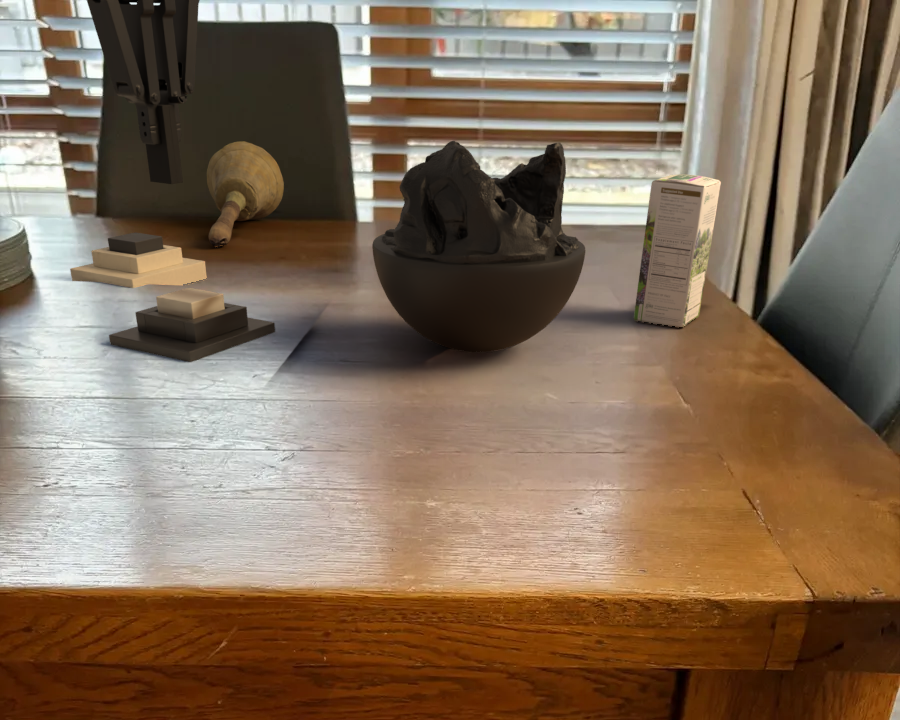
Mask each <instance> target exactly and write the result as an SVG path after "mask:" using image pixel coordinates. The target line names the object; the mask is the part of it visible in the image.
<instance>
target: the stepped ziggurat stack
mask: <svg viewBox="0 0 900 720" xmlns="http://www.w3.org/2000/svg"><path fill="white" fill-rule="evenodd" d="M163 248H164V249H161V250H157V251H153V252H148V253H144V254H139V255H132V254H126V253H120V252H114V251H110V250H109V246H107V247H102V248H101V247H100V248H96V249H92V250H90V251H91V257H92V261H93V262H92V263H88V264H84V265H79V266H75V267H71V268H69V270H70V277H71V281H72V282H82V283H83V282H85V283H104V284H108V285H109V284H110V285H113V286H114V285H115V286H120V287H125V288H130V289H135V288H139V287H143V286H146V285H158V286H159V285H160V286H161V285H163V286H183V284H187V283H191V282H196V281H199V280H203V279H206V278H207V279H208V277H207V268H206V261H205V260H201V259H194V258H187V257H183V250H182V247H179V246H173V245H168V244H167V245H166V244H163ZM207 279H206V280H207ZM203 281H204V280H203ZM199 282H200V281H199ZM196 283H197V282H196Z"/></svg>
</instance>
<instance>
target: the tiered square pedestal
mask: <svg viewBox="0 0 900 720" xmlns="http://www.w3.org/2000/svg"><path fill="white" fill-rule="evenodd" d="M224 306H225V309H224V310H220V311H217V312H214V313H211V314H208V315H204V316H201V317H198V318H195V319H190V318H185V317H180V316H175V315H170V314H165V313H160V312H158V307H157V305H155V306H152V307H149V308H144V309H141V310H138V311H135V320H136V326H134V327H131V328H130V327H129V328H127V329H123V330H120V331H117V332H114V333H111V334H108V339H109V345H110V346H114V347H119V348H123V349H126V350H127V349H128V350H133V351H136V352H141V353H146V354H151V355H155V356H160V357H164V358H168V359H173V360H178V361H182V362H187V363H193V362H196V361H199V360H201V359H204V358H207V357H210V356H213V355H215V354H219V353H220V352H223V351H226V350H229V349H232V348H235V347H237V346H241V345H243V344H245V343H248V342H251V341H254V340H257V339H260V338H262V337H265V336H268V335H271V334H274V333H275V332H276V325H275V322H274V321H269V320H263V319H257V318H253V317H248V309H247V308H248V307H247V306H244V305H239V304H238V305H237V304H233V303H227V302H224Z"/></svg>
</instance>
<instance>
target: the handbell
mask: <svg viewBox="0 0 900 720" xmlns="http://www.w3.org/2000/svg"><path fill="white" fill-rule="evenodd" d="M206 183H207V184H206V185H207V188H208V191H209V195H210V196H211V197H212V199H213V201H214V204H215V206H216V208H217V210H218V211H219V212H220V216H219V217H218V218H217V220H216V221H215V223H213V224H212V225H211V228H210V230H209V232H208V240H209V243H210V245H212V247H214V246H220V245H226V246H227V245H228V243H229V242H230V240H231V239H232V232H233V227H234V223H235V222H236V221H237V222H245V221H256V220H261V219H265V218H267V217H268V216H270V215H271V214H272V213H273V212H274V211H275V210H276V209H277V208H278V207H279V205H280V203H281V202H282V199H283V196H284V190H285V185H284V184H285V182H284V177H283V175H282V172H281V168H280V166H279V164H278V163H277V161H276V159H275V158H274V157H273V156H272V155H271V154H270V153H269V152H268V151H266V150H265V149H264V148H263V147H261V146H258V145H256V144H253V143H252V142H248V141H243V140H241V141H240V140H239V141H234V142H230V143H227V145H224V146H223V147H222V148H220V149H219V150H218V151H216V152H215V153H214V154H213V155H212V156H211V158H209V162H208V165H207V169H206Z"/></svg>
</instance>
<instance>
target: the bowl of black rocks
mask: <svg viewBox="0 0 900 720" xmlns="http://www.w3.org/2000/svg"><path fill="white" fill-rule="evenodd" d="M566 176H567V164H566V156H565V150H564V145H563V144H562V143H561V142H554V143H550V144H546V147H545V150H544V153H542V154H539V155H537V156H534V157H530V158H529V160H528V162H527V163H526V164H524V163H522V162H521V163H519V164H518V165H517V166H516V167H514V168H513V169H512V170H510V172H509V173H508V174H506V175H504V177H501V178H499V177H492V176H489V174H487V173H486V172H485V171H484V170H482V169H481V165H480V164H479V163H478V162H477V160H476V159H475V157H474V155H473V154H472V152H470V150H469V149H468V148H466V147H465V146H464V145H462V144H461V143H460V142H458V141H456V140H450V141H448V142H447V143H446V144H445V145H444V146H443V147H442V148H441V149H438V150H436V151H434V152H431V153H430V154H429V155H427V156H426V157H425V160H424V162H420V163H418V164H416V165H414V166H412V167H411V168H409V169H408V170H407V171H406V172H405V174H404V176H403V177H402V179H401V183H400V185H399V191H400V193H401V195H402V197H403V206H402V208H401V212H400V214H399V220H398V223H397V224H396V226H395V228H389V229H387V230H385V231H384V233H383V234H380V235H378V236H377V237H375V238H374V239H373V242H372V246H371V249H372V257H373V263H374V267H375V271H376V275H377V277H378V281H379V283H380V285H381V287H382V290H383V292H384V293H385V296H386V298H387V300H388V301H389V303H390V304H391V306H392V307H393V308H394V310H395V312H396V313H397V314H398V316H400V318H401V319H402V320H403V321H404V322H405V323H406V324H407V325H408V326H410V328H412V329H413V331H415V332H417V333H418V334H419V335H421V336H423V337H424V338H425V339H427V340H429V341H431V342H433V343H434V344H437V345H439V346H442V347H445V348H447V349H451V350H454V351H459V352H464V353H492V352H497V351H502V350H506V349H509V348H513V347H515V346H517V345H520V344H522V343H523V342H526V341H528V340H529V339H531V338H533V337H534V336H536V335H538V333H540V332H541V331H542V330H544V329H545V328H547V326H548V325H550V323H552V321H554V320H555V318H556V317H557V316H559V314H560V313H561V311H562V310H563V309H564V308H565V306H566V305H567V303H568V302H569V300H570V297H571V296H572V295H573V292H574V291H575V288H576V286H577V284H578V282H579V279H580V277H581V274H582V270H583V267H584V263H585V257H586V246H585V245H584V243H583V242H582V241H580V240H579V239H578V238H577V237H576V236H571V235H567V234H565V232H564V231H563V228H562V224H563V222H562V221H563V219H562V218H563V217H562V212H563V203H564V202H563V201H564V195H565V194H564V193H565V181H566V180H565V178H566Z"/></svg>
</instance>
